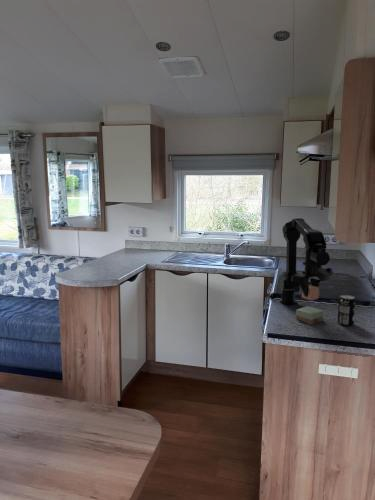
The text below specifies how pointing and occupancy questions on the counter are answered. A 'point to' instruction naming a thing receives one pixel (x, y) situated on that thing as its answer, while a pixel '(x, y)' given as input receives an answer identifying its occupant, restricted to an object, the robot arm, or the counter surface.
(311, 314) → the sage slab
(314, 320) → the walnut slab
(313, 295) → the tan cube
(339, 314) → the beverage can
